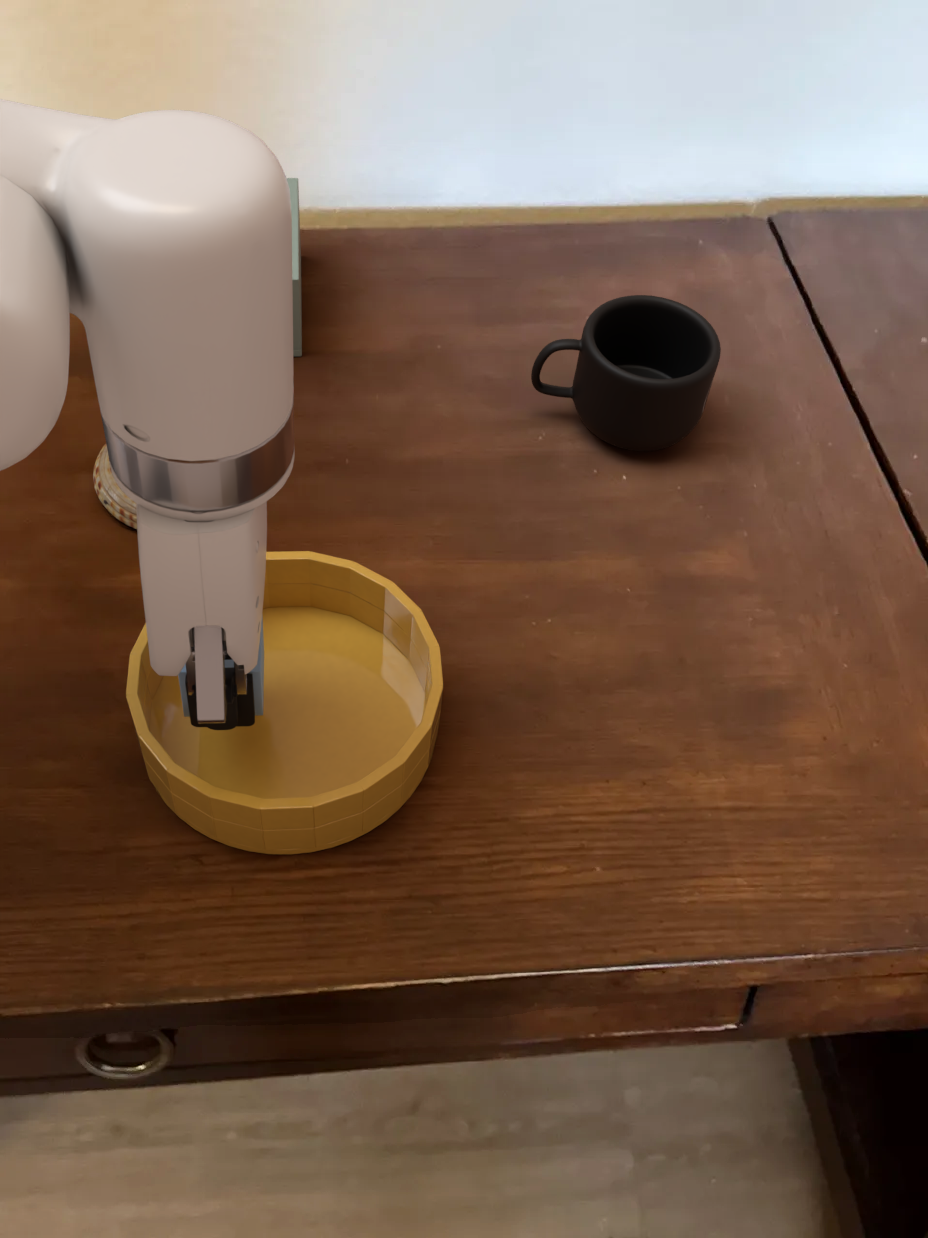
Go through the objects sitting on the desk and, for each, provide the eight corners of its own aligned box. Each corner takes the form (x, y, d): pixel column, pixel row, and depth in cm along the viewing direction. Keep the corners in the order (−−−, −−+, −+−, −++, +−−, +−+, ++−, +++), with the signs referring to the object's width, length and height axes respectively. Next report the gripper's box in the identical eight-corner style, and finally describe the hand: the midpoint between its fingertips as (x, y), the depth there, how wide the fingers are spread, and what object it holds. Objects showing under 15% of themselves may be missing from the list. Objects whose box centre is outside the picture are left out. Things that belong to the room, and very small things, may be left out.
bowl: (128, 862, 61) (113, 815, 57) (150, 608, 71) (139, 553, 67) (447, 848, 63) (454, 801, 59) (426, 602, 73) (431, 548, 69)
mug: (688, 376, 87) (711, 295, 81) (705, 467, 82) (732, 387, 76) (522, 369, 86) (534, 286, 81) (528, 460, 81) (541, 378, 75)
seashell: (172, 389, 79) (233, 418, 73) (198, 465, 82) (258, 498, 77) (58, 441, 75) (112, 475, 70) (90, 518, 79) (144, 557, 73)
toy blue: (184, 717, 62) (177, 672, 59) (188, 653, 64) (181, 607, 61) (263, 715, 63) (260, 671, 59) (264, 652, 65) (262, 607, 62)
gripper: (122, 294, 54) (161, 561, 68) (83, 590, 44) (139, 829, 58) (294, 299, 55) (296, 561, 69) (294, 590, 45) (297, 825, 59)
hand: (224, 681), depth 63 cm, fingers closed on toy blue, 4 cm apart
